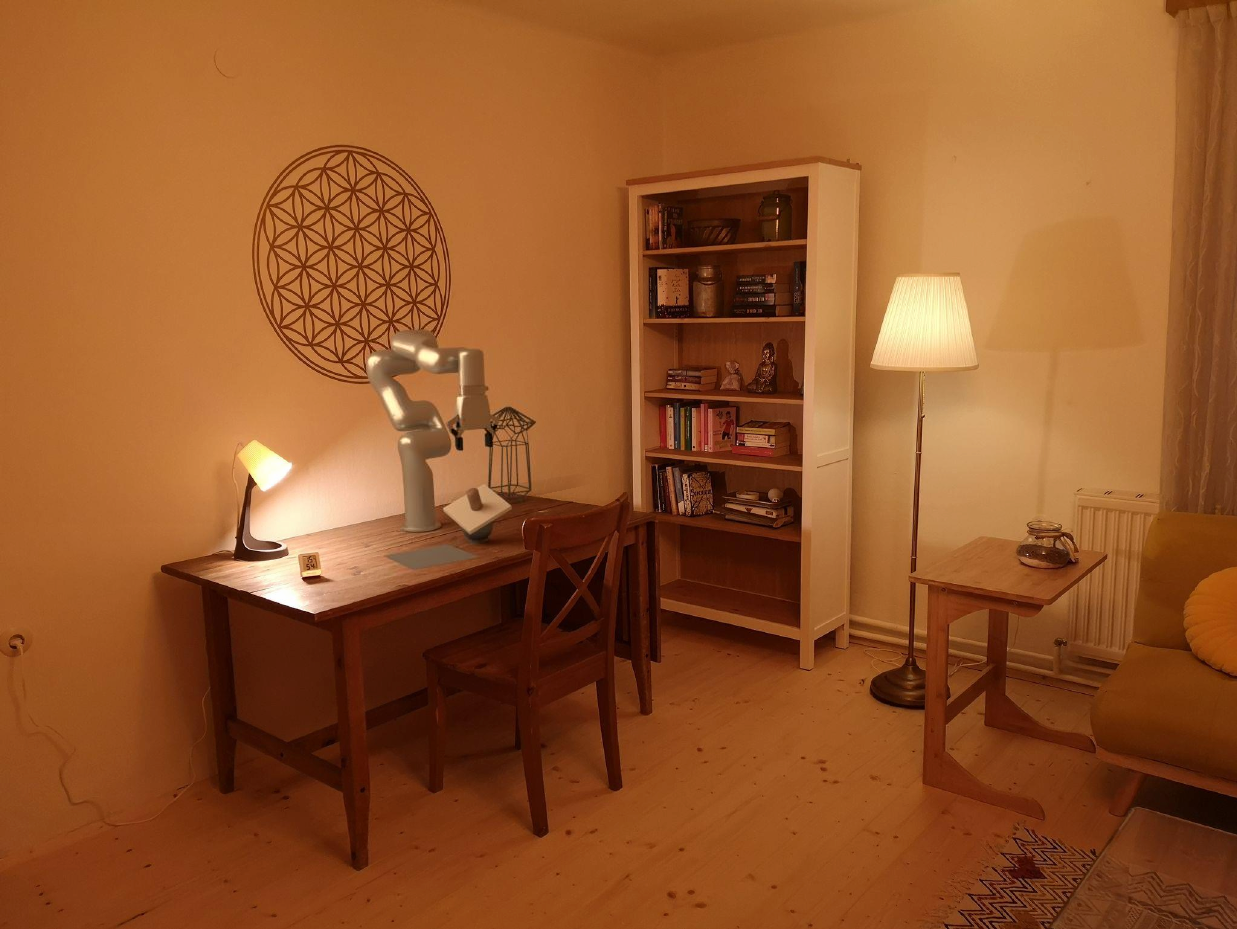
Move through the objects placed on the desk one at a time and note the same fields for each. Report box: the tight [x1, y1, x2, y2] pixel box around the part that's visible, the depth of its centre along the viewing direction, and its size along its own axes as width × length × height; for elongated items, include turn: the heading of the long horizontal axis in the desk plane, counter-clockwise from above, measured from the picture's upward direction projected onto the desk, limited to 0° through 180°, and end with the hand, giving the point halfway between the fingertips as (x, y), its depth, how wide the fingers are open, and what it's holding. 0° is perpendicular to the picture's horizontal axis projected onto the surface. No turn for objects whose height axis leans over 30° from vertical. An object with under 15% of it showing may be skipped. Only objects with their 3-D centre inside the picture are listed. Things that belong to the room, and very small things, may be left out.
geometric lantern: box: [487, 406, 537, 505], centre depth 347 cm, size 16×16×35 cm
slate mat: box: [383, 543, 479, 571], centre depth 271 cm, size 20×20×1 cm
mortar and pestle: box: [461, 520, 494, 544], centre depth 289 cm, size 11×9×12 cm
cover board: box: [442, 483, 513, 534], centre depth 285 cm, size 15×15×7 cm
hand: (474, 448), depth 285 cm, fingers open, 9 cm apart
